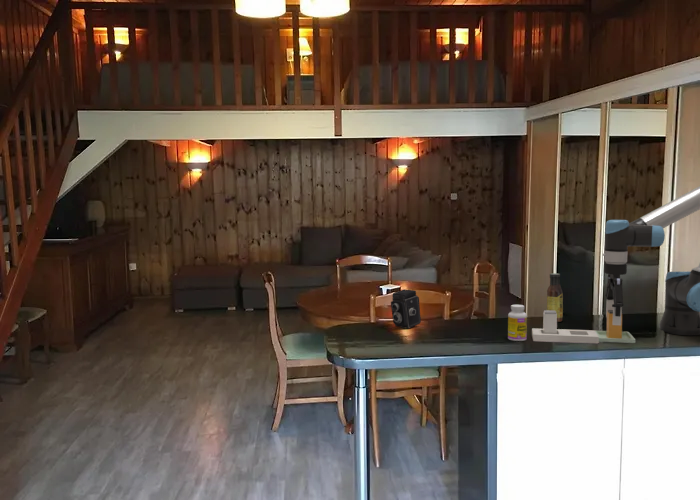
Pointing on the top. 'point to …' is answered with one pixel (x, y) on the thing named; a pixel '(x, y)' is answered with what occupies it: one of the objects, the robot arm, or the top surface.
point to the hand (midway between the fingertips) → (613, 321)
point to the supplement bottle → (517, 323)
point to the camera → (405, 308)
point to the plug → (613, 327)
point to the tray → (625, 338)
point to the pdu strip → (566, 336)
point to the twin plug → (549, 322)
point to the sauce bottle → (555, 296)
